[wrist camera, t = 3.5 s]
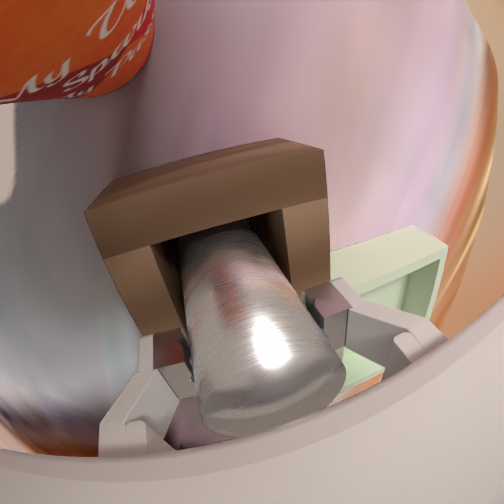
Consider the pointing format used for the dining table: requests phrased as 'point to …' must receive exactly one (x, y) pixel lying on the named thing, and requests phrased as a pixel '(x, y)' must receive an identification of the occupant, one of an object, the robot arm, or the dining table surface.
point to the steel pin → (251, 335)
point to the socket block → (212, 220)
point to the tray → (389, 282)
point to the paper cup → (71, 47)
